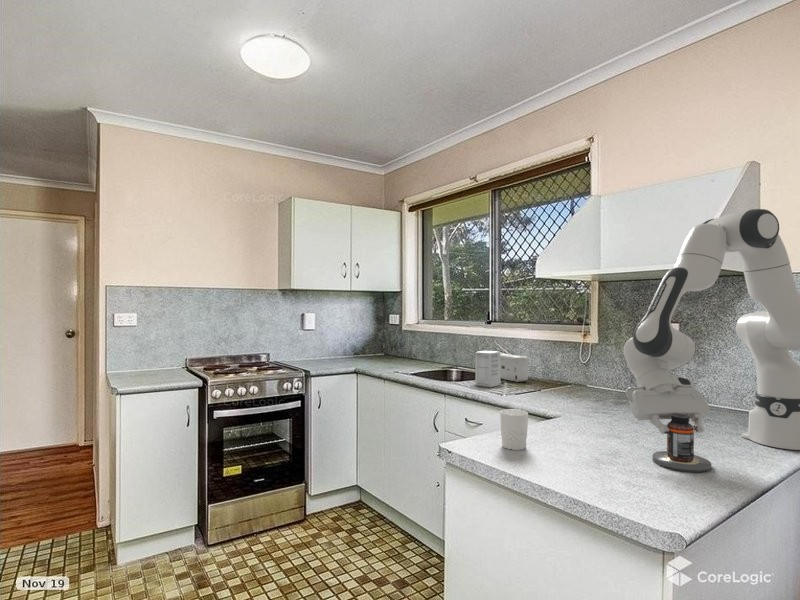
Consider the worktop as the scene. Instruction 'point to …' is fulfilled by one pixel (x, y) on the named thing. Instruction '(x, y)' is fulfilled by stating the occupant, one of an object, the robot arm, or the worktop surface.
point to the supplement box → (487, 368)
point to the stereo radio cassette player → (513, 367)
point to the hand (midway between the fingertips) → (682, 432)
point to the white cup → (514, 428)
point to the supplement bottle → (680, 439)
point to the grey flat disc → (682, 463)
